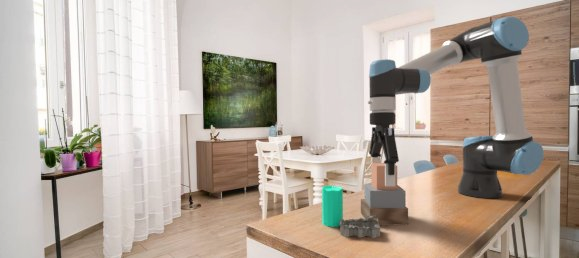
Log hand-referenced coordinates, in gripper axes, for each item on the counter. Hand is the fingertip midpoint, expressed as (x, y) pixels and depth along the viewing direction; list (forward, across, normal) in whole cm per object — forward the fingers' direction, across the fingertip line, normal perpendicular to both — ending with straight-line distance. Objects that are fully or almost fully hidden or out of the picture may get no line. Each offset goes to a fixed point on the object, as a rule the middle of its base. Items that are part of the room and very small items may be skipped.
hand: (382, 181), depth 94 cm
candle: (+12, +4, -16) cm, 20 cm away
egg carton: (+12, +12, -10) cm, 20 cm away
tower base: (+12, 0, 0) cm, 12 cm away
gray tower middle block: (+7, 0, 0) cm, 7 cm away
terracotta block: (+2, +1, 0) cm, 2 cm away
